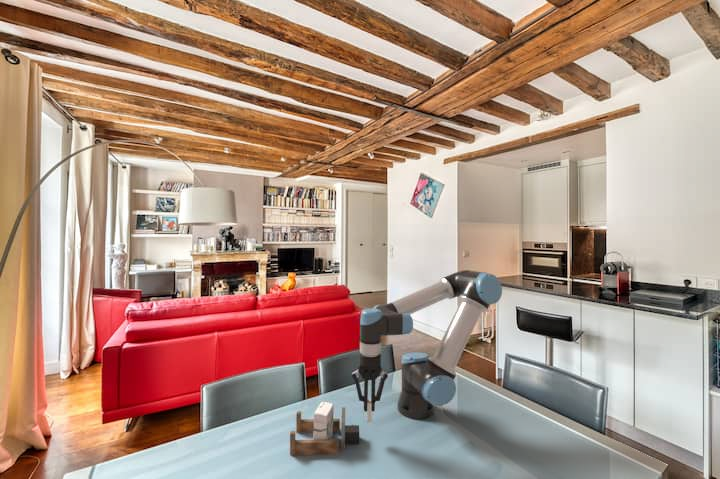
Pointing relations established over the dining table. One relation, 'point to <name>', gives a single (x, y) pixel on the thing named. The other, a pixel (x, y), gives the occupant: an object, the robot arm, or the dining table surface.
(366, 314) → the robot arm
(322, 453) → the chute
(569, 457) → the dining table surface
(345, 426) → the grey stepped bracket
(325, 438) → the ink box
